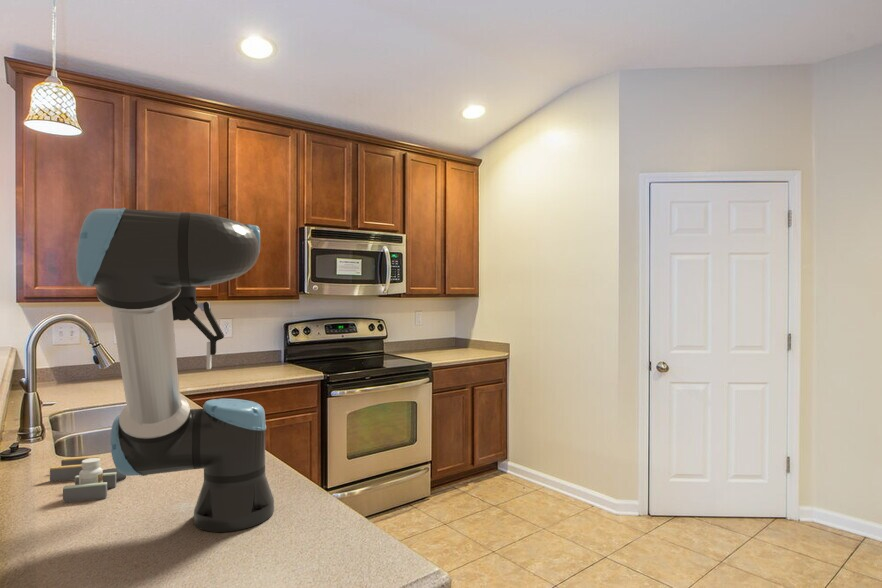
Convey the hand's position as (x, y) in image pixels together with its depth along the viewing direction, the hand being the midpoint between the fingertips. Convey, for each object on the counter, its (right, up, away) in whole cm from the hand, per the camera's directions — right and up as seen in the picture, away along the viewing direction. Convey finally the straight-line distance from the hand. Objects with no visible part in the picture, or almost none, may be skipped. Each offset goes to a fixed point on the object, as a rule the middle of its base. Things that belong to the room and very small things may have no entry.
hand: (178, 369), depth 123 cm
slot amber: (-27, -27, +3) cm, 38 cm away
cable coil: (-17, -27, 0) cm, 32 cm away
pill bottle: (-15, -27, -9) cm, 32 cm away
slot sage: (-15, -27, -9) cm, 32 cm away
